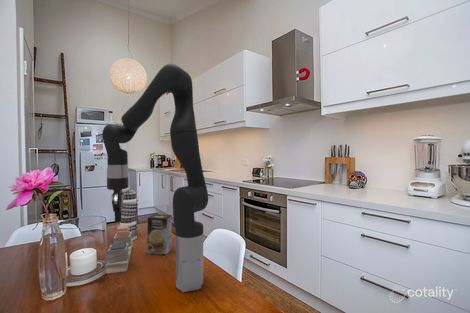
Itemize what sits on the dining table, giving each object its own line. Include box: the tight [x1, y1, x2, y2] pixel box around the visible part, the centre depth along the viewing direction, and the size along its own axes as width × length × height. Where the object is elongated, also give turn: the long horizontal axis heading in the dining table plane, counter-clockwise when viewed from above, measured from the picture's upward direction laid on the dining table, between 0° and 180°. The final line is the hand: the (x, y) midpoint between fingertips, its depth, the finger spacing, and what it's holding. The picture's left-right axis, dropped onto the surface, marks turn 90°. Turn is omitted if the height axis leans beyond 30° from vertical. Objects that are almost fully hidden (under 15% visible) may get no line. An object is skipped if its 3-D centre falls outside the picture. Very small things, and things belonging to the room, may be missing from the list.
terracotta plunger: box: [116, 225, 129, 237], centre depth 103 cm, size 4×4×5 cm
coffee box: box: [146, 213, 173, 256], centre depth 104 cm, size 9×6×16 cm
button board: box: [105, 232, 133, 275], centre depth 97 cm, size 24×7×8 cm, turn 19°
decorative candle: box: [118, 188, 139, 241], centre depth 120 cm, size 9×9×25 cm
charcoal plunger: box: [111, 243, 125, 250], centre depth 90 cm, size 4×4×5 cm
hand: (118, 221), depth 90 cm, fingers closed
